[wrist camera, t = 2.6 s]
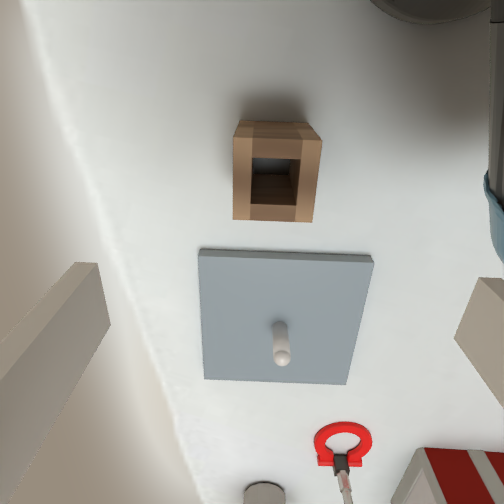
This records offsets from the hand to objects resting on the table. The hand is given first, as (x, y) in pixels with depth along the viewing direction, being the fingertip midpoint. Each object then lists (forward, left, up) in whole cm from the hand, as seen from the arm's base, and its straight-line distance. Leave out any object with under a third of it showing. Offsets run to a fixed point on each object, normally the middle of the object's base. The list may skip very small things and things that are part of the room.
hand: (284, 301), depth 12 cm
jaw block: (0, 0, -22) cm, 22 cm away
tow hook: (+42, +13, -22) cm, 49 cm away
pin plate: (+19, +2, -22) cm, 29 cm away
